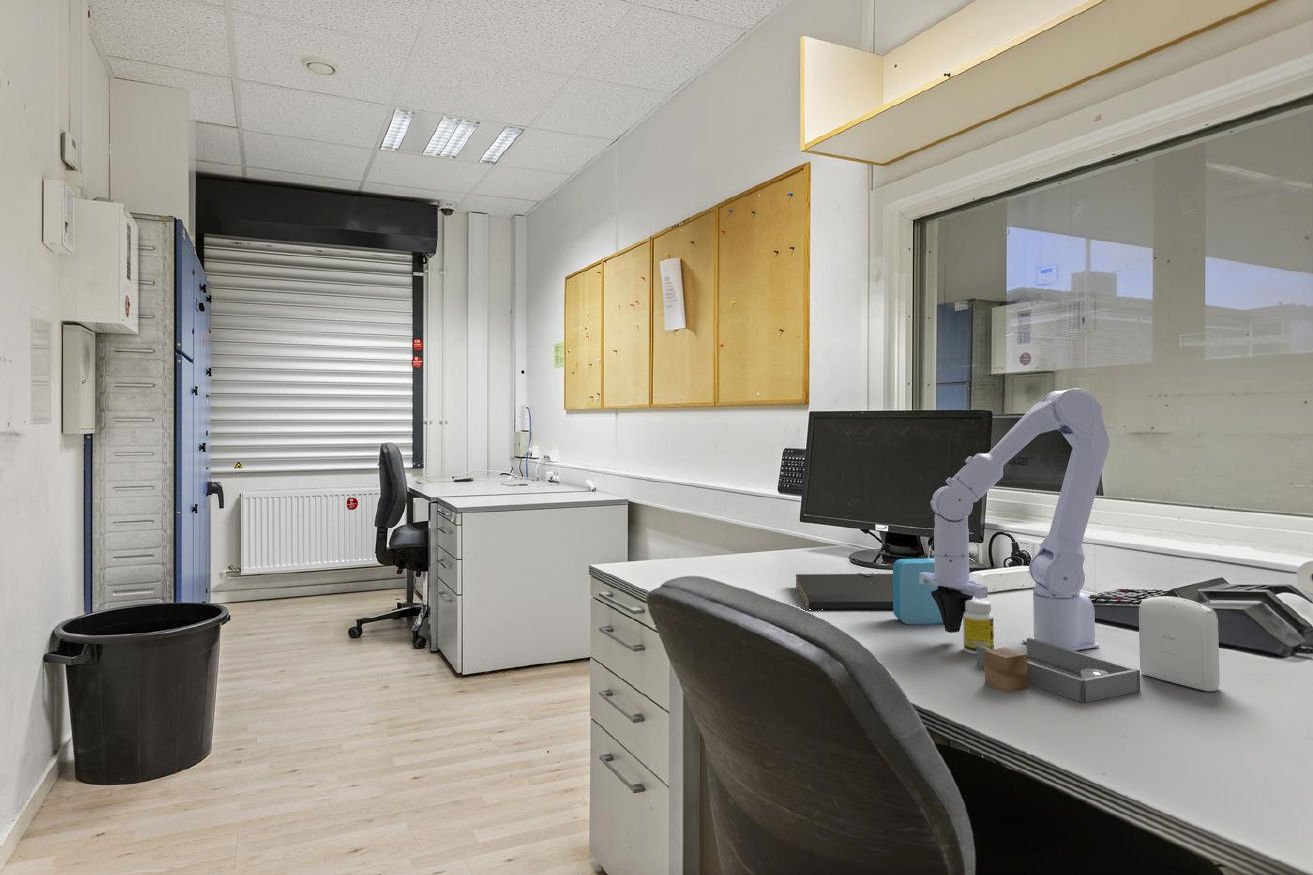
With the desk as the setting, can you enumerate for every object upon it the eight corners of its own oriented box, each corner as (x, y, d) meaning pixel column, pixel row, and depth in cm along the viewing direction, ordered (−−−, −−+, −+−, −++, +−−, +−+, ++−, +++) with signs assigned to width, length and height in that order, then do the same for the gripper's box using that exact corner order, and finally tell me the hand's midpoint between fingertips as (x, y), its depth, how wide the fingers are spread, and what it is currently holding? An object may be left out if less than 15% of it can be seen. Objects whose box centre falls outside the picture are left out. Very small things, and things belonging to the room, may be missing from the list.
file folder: (935, 571, 184) (970, 595, 160) (935, 588, 184) (970, 615, 160) (795, 572, 186) (808, 595, 162) (795, 589, 186) (808, 615, 162)
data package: (952, 617, 154) (951, 557, 154) (962, 623, 150) (961, 561, 149) (893, 619, 154) (892, 559, 154) (900, 624, 149) (899, 562, 149)
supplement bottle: (996, 656, 128) (996, 605, 128) (966, 655, 129) (965, 604, 129) (990, 648, 133) (989, 599, 132) (961, 647, 133) (960, 598, 133)
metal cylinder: (1093, 686, 113) (1092, 667, 113) (1115, 694, 109) (1115, 674, 109) (1075, 689, 111) (1074, 670, 111) (1097, 697, 108) (1097, 677, 108)
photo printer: (1134, 674, 117) (1133, 593, 117) (1152, 670, 119) (1151, 590, 119) (1207, 694, 108) (1206, 606, 108) (1225, 689, 110) (1224, 603, 110)
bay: (1029, 655, 128) (1029, 637, 128) (1140, 691, 110) (1139, 670, 110) (977, 664, 124) (976, 645, 124) (1082, 703, 106) (1082, 681, 106)
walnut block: (1005, 680, 116) (1005, 647, 116) (1027, 688, 112) (1026, 654, 112) (985, 684, 114) (984, 650, 114) (1006, 692, 111) (1005, 657, 111)
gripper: (905, 550, 141) (906, 624, 142) (964, 562, 128) (965, 644, 128) (936, 547, 144) (937, 620, 144) (996, 559, 130) (997, 639, 131)
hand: (952, 631), depth 136 cm, fingers closed
